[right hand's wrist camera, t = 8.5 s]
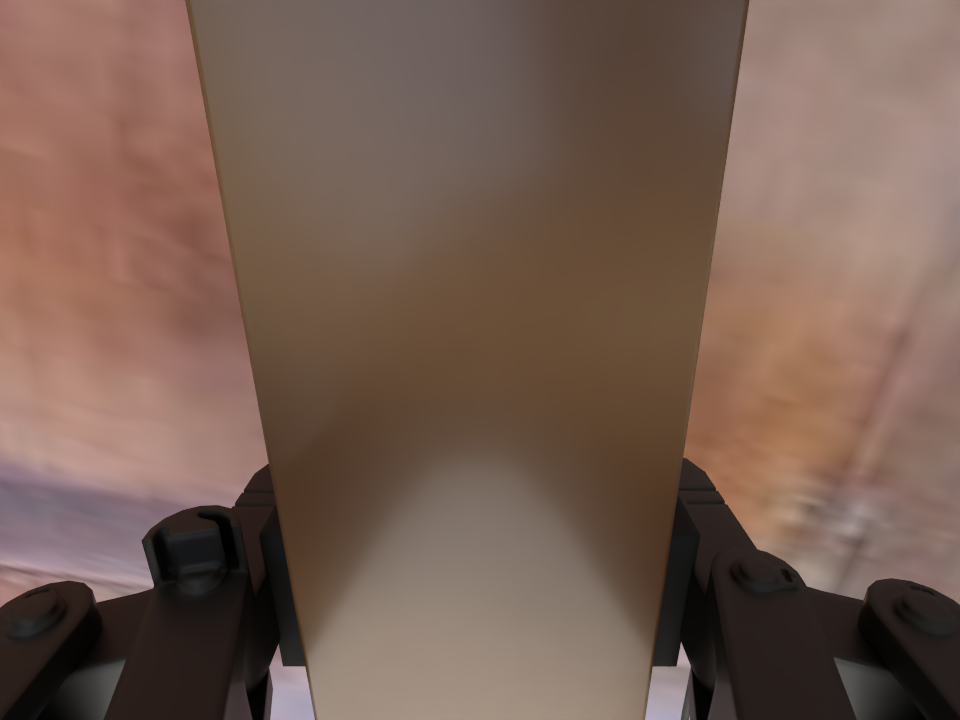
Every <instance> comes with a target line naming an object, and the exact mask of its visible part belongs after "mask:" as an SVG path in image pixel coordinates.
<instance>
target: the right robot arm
mask: <svg viewBox="0 0 960 720" xmlns="http://www.w3.org/2000/svg"><path fill="white" fill-rule="evenodd" d="M142 544H143V547H144V551H145V554H146V558H147V561H148V565H149V568H150V572H151V575H152V579H153V582H154V588H153V589H150V590H147V591H144V592H140V593H137V594H132V595H128V596H124V597H119V598H115V599H111V600H106V601H102V602H98V603H96V600H95V597H94V594H93V591H92V589H90V588H89V587H88V586H87V585H86V584H84V583H81V582H74V581H64V582H57V583H50V584H47V585H44V586H41V587H38V588H35V589H32V590H29V591H27V592H25V593H23V594H22V595H20V596H18V597H16V598H14V599H12V600H11V601H9V602H7V603H6V604H4V605H3V606H2V607H1V608H0V720H270V715H271V704H272V693H273V687H272V680H271V674H270V669H269V666H270V664H271V661H272V659H273V656H274V654H275V651H276V649H277V646H278V643H279V647H280V652H281V658H282V663H283V666H305V661H304V655H303V650H302V644H301V639H300V633H299V627H298V622H297V616H296V611H295V605H294V600H293V594H292V589H291V583H290V578H289V572H288V566H287V561H286V555H285V550H284V544H283V539H282V533H281V528H280V522H279V516H278V511H277V505H276V500H275V494H274V489H273V483H272V478H271V472H270V467H269V464H267V465H266V466H265V467H263V468H262V469H261V470H259V471H258V472H256V473H255V474H254V476H253V477H252V479H251V480H250V482H249V483H248V485H247V486H246V488H245V489H244V493H241V495H240V496H239V498H238V499H237V501H236V502H235V506H233V507H232V508H231V509H230V508H226V507H222V506H218V505H213V506H199V507H195V508H190V509H186V510H182V511H180V512H178V513H176V514H174V515H171V516H169V517H167V518H165V519H163V520H162V521H161V522H159V523H158V524H157V525H155V526H154V527H153V528H151V529H150V530H149V532H148V533H147V534H146V536H145V537H144V538H143V540H142ZM681 642H682V645H683V647H684V650H685V652H686V655H687V657H688V660H689V662H690V665H691V669H690V674H689V679H688V684H687V690H686V695H685V700H684V705H683V710H682V716H681V720H689V715H690V720H960V605H959V604H958V603H956V602H955V601H954V600H952V599H951V598H949V597H947V596H945V595H943V594H941V593H939V592H938V591H936V590H934V589H932V588H929V587H926V586H924V585H920V584H917V583H915V582H912V581H906V580H899V579H892V578H890V579H884V580H877V581H875V582H874V583H873V584H872V585H870V586H869V587H868V589H867V592H866V595H865V598H864V601H863V600H859V599H855V598H850V597H846V596H842V595H837V594H833V593H829V592H824V591H820V590H817V589H814V588H810V587H807V586H806V584H805V583H804V581H803V580H802V578H801V577H800V575H799V574H798V572H797V571H796V570H794V569H793V568H792V567H791V566H790V565H788V564H787V563H786V562H785V561H783V560H781V559H779V558H777V557H775V556H773V555H772V554H770V553H768V552H764V551H761V550H757V548H756V547H755V545H754V544H753V542H752V541H751V539H750V538H749V536H748V535H747V533H746V532H745V531H744V529H743V528H742V526H741V525H740V523H739V522H738V520H737V519H736V517H735V516H734V514H733V513H732V511H731V510H730V508H729V507H728V505H727V504H725V501H724V499H723V498H722V496H721V495H720V494H719V492H718V491H716V488H715V486H714V485H713V483H712V482H711V480H710V479H709V477H708V476H707V474H706V473H705V472H704V471H703V470H701V469H700V468H699V467H697V466H696V465H695V464H693V463H692V462H690V461H689V460H688V459H686V458H683V460H682V467H681V474H680V481H679V488H678V495H677V502H676V508H675V515H674V522H673V529H672V536H671V543H670V550H669V557H668V564H667V570H666V577H665V584H664V591H663V598H662V605H661V612H660V619H659V626H658V632H657V639H656V646H655V653H654V660H653V666H677V660H678V655H679V650H680V644H681Z"/></svg>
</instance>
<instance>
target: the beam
mask: <svg viewBox="0 0 960 720" xmlns="http://www.w3.org/2000/svg"><path fill="white" fill-rule="evenodd" d="M186 6H187V12H188V17H189V23H190V28H191V34H192V39H193V45H194V50H195V56H196V61H197V67H198V73H199V78H200V84H201V89H202V95H203V100H204V106H205V111H206V117H207V123H208V128H209V134H210V139H211V145H212V150H213V156H214V161H215V167H216V172H217V178H218V184H219V189H220V195H221V200H222V206H223V211H224V217H225V222H226V228H227V233H228V239H229V245H230V250H231V256H232V261H233V267H234V272H235V278H236V283H237V289H238V295H239V300H240V306H241V311H242V317H243V322H244V328H245V333H246V339H247V344H248V350H249V356H250V361H251V367H252V372H253V378H254V383H255V389H256V394H257V400H258V406H259V411H260V417H261V422H262V428H263V433H264V439H265V444H266V450H267V455H268V461H269V467H270V472H271V478H272V483H273V489H274V494H275V500H276V505H277V511H278V516H279V522H280V528H281V533H282V539H283V544H284V550H285V555H286V561H287V566H288V572H289V578H290V583H291V589H292V594H293V600H294V605H295V611H296V616H297V622H298V627H299V633H300V639H301V644H302V650H303V655H304V661H305V666H306V672H307V677H308V683H309V689H310V694H311V700H312V705H313V711H314V716H315V720H645V715H646V708H647V701H648V694H649V688H650V681H651V674H652V667H653V660H654V653H655V646H656V639H657V632H658V626H659V619H660V612H661V605H662V598H663V591H664V584H665V577H666V570H667V564H668V557H669V550H670V543H671V536H672V529H673V522H674V515H675V508H676V502H677V495H678V488H679V481H680V474H681V467H682V460H683V453H684V446H685V440H686V433H687V426H688V419H689V412H690V405H691V398H692V391H693V385H694V378H695V371H696V364H697V357H698V350H699V343H700V336H701V329H702V323H703V316H704V309H705V302H706V295H707V288H708V281H709V274H710V267H711V261H712V254H713V247H714V240H715V233H716V226H717V219H718V212H719V205H720V199H721V192H722V185H723V178H724V171H725V164H726V157H727V150H728V143H729V137H730V130H731V123H732V116H733V109H734V102H735V95H736V88H737V81H738V75H739V68H740V61H741V54H742V47H743V40H744V33H745V26H746V19H747V13H748V6H749V0H186Z"/></svg>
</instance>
